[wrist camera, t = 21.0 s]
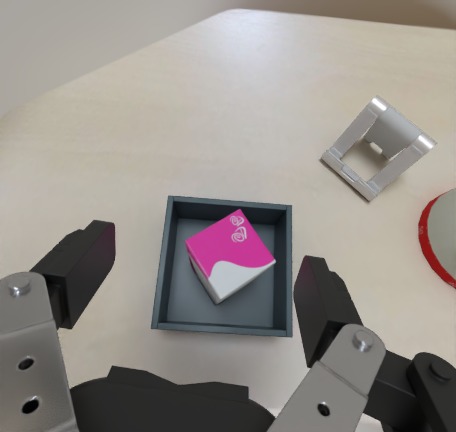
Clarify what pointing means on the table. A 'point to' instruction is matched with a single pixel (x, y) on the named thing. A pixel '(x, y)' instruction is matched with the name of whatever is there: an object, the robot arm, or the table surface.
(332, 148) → the tablet stand
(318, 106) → the table surface
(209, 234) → the supplement box
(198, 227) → the bin
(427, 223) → the kitchen timer
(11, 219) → the table surface
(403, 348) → the table surface
